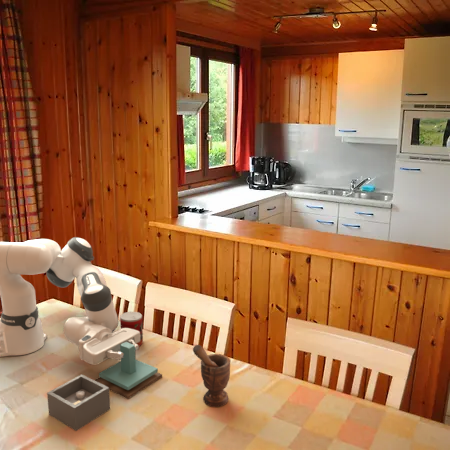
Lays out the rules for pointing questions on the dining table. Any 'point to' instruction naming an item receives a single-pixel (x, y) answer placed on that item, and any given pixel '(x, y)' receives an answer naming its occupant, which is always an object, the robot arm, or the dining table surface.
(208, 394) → the mortar and pestle
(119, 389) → the board
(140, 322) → the canned food
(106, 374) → the lid
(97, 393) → the tub
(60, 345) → the dining table surface
